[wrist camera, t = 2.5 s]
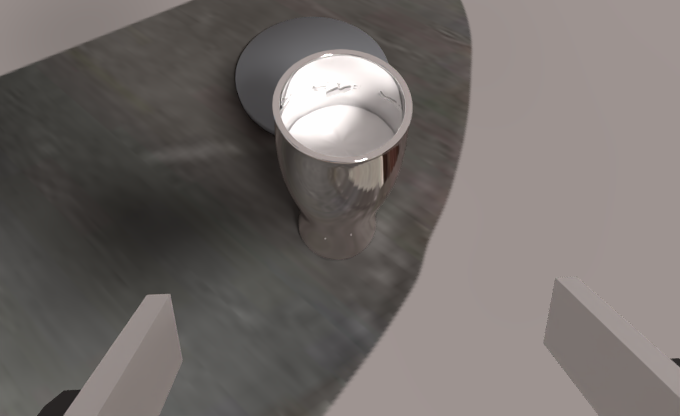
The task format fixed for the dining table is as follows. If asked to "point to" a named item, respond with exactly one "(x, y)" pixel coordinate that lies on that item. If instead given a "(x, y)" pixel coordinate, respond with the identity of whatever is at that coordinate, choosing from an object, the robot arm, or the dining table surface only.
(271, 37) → the mat
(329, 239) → the beer glass
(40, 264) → the dining table surface
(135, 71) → the dining table surface
